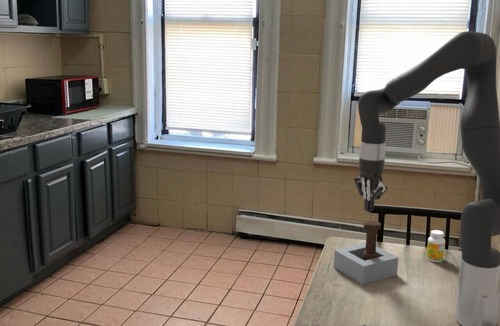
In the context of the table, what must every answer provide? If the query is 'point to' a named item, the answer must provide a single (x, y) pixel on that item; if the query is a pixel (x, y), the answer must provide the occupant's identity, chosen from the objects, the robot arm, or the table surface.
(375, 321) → the table surface
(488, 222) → the robot arm
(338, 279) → the table surface
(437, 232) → the supplement bottle
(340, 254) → the socket block
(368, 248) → the bolt
